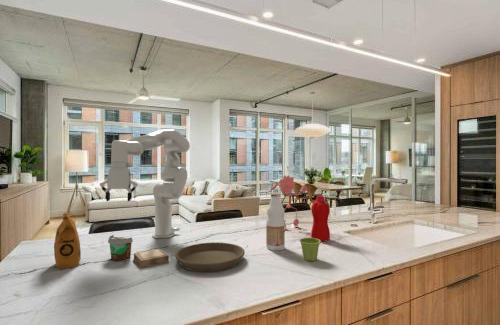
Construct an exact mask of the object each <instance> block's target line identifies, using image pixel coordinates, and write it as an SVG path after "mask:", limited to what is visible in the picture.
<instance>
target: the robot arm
mask: <svg viewBox="0 0 500 325" xmlns="http://www.w3.org/2000/svg"><path fill="white" fill-rule="evenodd" d="M160 146H163V150H164V152H165V155H166V161H165V164H164V167H163V169H162V172H161V180H162V181H163V182H158V183H156V184H155V185H154V186H153V188H152V189H153V190H152V193H153V198H154V233H152V237H153V238H154V239H168V238H171V237H174V236H175V232H179V231H180V230H181V229H180V227H172V226H173V223H172V218H173V217H172V215H173V214H172V211H173V210H172V209H173V208H172V203H171V201H170V200H173V201H174V200H175V201H176V200H179V199H181V197H182V195H183V193H184V189H185V186H186V184H187V180H188V171H187V169H186V168H185V167H183V166H180V165H181V159H180V156H179V155H178V153H180V154H181V153H187V152H188V151H189V150H190V147H191V145H190V142H189V140H188V139H187V138H186V137H185V136H184V135H182V134H181V133H180V132H179V131H178V130H176V129H173V128H172V129H171V128H170V129H160V130H157V131H153V132H151V133H150V132H149V133H148V134H144V135H140V136H137V137H131V138H128V139H126V140H118V139H117V140H113V141H112V142H111V154H110V155H111V159H110V160H111V161H110V162H111V163H110V168H109V169H108V175H107V180H104V181H102V182H100V183H99V186H100V188H101V190H102V191H103V192H104V194H105V195H104V196H105V197H104V198H105V200H106V202H109V201H110V199H111V192H110V191H111V190H126V191H127V192H128V193H127V202H130V201H131V200H132V199H133V197H132V196H133V192H134V191H135V190H136V189H137V187H138V186H139V185H138V184H139V183H137V182H135V181H133V180H132V177H131V169H130V168H129V167H132V164H131V163H130V162H129V157H139V156H141V155H143V153H144V151H149V150H154V149H156V148H158V147H160ZM105 185H106V187H107V188H106V187H105ZM132 185H133V187H132ZM131 187H132V188H131Z"/></svg>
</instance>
